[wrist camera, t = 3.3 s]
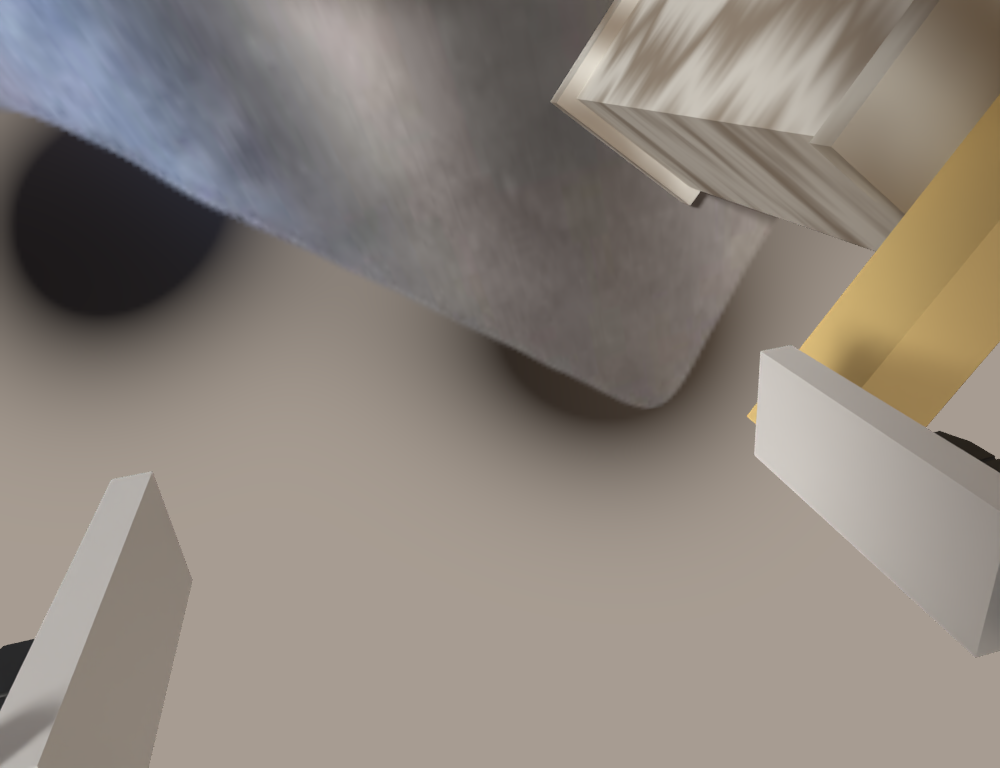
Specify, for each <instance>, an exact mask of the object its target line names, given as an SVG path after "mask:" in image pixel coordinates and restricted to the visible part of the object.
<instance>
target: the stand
mask: <svg viewBox="0 0 1000 768" xmlns="http://www.w3.org/2000/svg"><path fill="white" fill-rule="evenodd" d="M999 94H1000V0H614V2H613V3H612V5H611V6H610V8H609V10H608V11H607V13H606V14H605V16H604V18H603V19H602V21H601V22H600V24H599V25H598V27H597V29H596V30H595V32H594V33H593V35H592V36H591V38H590V40H589V41H588V43H587V44H586V46H585V48H584V49H583V51H582V52H581V54H580V55H579V57H578V59H577V60H576V62H575V63H574V65H573V67H572V68H571V70H570V71H569V73H568V74H567V76H566V78H565V79H564V81H563V82H562V84H561V85H560V87H559V89H558V90H557V92H556V93H555V95H554V97H553V98H552V100H551V101H550V102H551V103H552V104H554V105H555V106H556V107H557V108H559V109H560V110H561V111H563V112H564V113H565V114H567V115H568V116H569V117H571V118H572V119H573V120H574V121H576V122H577V123H578V124H580V125H581V126H582V127H584V128H585V129H586V130H588V131H589V132H590V133H592V134H593V135H594V136H595V137H597V138H598V139H599V140H601V141H602V142H603V143H605V144H606V145H607V146H609V147H610V148H611V149H612V150H614V151H615V152H616V153H618V154H619V155H620V156H622V157H623V158H624V159H626V160H627V161H628V162H629V163H631V164H632V165H633V166H635V167H636V168H637V169H639V170H640V171H641V172H643V173H644V174H645V175H646V176H648V177H649V178H650V179H652V180H653V181H654V182H656V183H657V184H658V185H660V186H661V187H662V188H663V189H665V190H666V191H667V192H669V193H670V194H671V195H673V196H674V197H675V198H677V199H678V200H679V201H680V202H682V203H685V204H687V205H691V204H692V202H693V201H694V200H695V198H696V197H697V195H698V194H699V193H700V191H702V192H705V193H708V194H711V195H714V196H717V197H720V198H723V199H725V200H728V201H731V202H734V203H737V204H740V205H743V206H746V207H749V208H751V209H754V210H757V211H760V212H763V213H766V214H769V215H772V216H774V217H777V218H780V219H783V220H786V221H789V222H792V223H795V224H798V225H800V226H803V227H806V228H809V229H812V230H815V231H818V232H821V233H823V234H826V235H829V236H832V237H835V238H838V239H841V240H844V241H847V242H850V243H852V244H855V245H858V246H861V247H864V248H867V249H870V250H873V251H875V252H876V251H877V250H878V248H879V247H880V246H881V245H882V243H883V242H884V241H885V239H886V238H887V237H888V236H889V234H890V233H891V232H892V231H893V229H894V228H895V227H896V225H897V224H898V223H899V222H900V220H901V219H902V218H903V217H904V215H905V214H906V213H907V211H908V210H909V209H910V208H911V206H912V205H913V204H914V203H915V201H916V200H917V199H918V197H919V196H920V195H921V194H922V192H923V191H924V190H925V189H926V187H927V186H928V185H929V183H930V182H931V181H932V180H933V178H934V177H935V176H936V175H937V173H938V172H939V171H940V169H941V168H942V167H943V166H944V164H945V163H946V162H947V161H948V159H949V158H950V157H951V156H952V154H953V153H954V152H955V150H956V149H957V148H958V147H959V145H960V144H961V143H962V142H963V140H964V139H965V138H966V136H967V135H968V134H969V133H970V131H971V130H972V129H973V128H974V126H975V125H976V124H977V122H978V121H979V120H980V119H981V117H982V116H983V115H984V114H985V112H986V111H987V110H988V108H989V107H990V106H991V105H992V103H993V102H994V101H995V100H996V98H997V97H998V96H999Z"/></svg>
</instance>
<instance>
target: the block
mask: <svg viewBox="0 0 1000 768" xmlns="http://www.w3.org/2000/svg"><path fill="white" fill-rule="evenodd" d="M999 341H1000V94H999V96H998V97H997V98H996V100H995V101H994V102H993V103H992V105H991V106H990V107H989V108H988V110H987V111H986V112H985V114H984V115H983V116H982V117H981V119H980V120H979V121H978V122H977V124H976V125H975V126H974V128H973V129H972V130H971V131H970V133H969V134H968V135H967V136H966V138H965V139H964V140H963V142H962V143H961V144H960V145H959V147H958V148H957V149H956V150H955V152H954V153H953V154H952V156H951V157H950V158H949V159H948V161H947V162H946V163H945V164H944V166H943V167H942V168H941V169H940V171H939V172H938V173H937V175H936V176H935V177H934V178H933V180H932V181H931V182H930V183H929V185H928V186H927V187H926V189H925V190H924V191H923V192H922V194H921V195H920V196H919V197H918V199H917V200H916V201H915V203H914V204H913V205H912V206H911V208H910V209H909V210H908V211H907V213H906V214H905V215H904V217H903V218H902V219H901V220H900V222H899V223H898V224H897V225H896V227H895V228H894V229H893V231H892V232H891V233H890V234H889V236H888V237H887V238H886V239H885V241H884V242H883V243H882V245H881V246H880V247H879V248H878V250H877V251H876V252H875V254H874V255H873V256H872V257H871V258H870V260H869V261H868V262H867V264H866V265H865V266H864V268H863V269H862V270H861V271H860V273H859V274H858V275H857V276H856V278H855V279H854V280H853V281H852V283H851V284H850V285H849V287H848V288H847V289H846V290H845V292H844V293H843V294H842V295H841V297H840V298H839V299H838V300H837V302H836V303H835V304H834V306H833V307H832V308H831V309H830V311H829V312H828V313H827V315H826V316H825V317H824V318H823V320H822V321H821V322H820V323H819V325H818V326H817V327H816V328H815V330H814V331H813V332H812V334H811V335H810V336H809V338H808V339H807V340H806V341H805V342H804V344H803V345H802V346H801V348H800V349H799V350H800V351H802V352H803V353H805V354H807V355H808V356H810V357H812V358H813V359H815V360H816V361H818V362H820V363H821V364H823V365H825V366H826V367H828V368H830V369H831V370H833V371H834V372H836V373H838V374H839V375H841V376H843V377H844V378H846V379H847V380H849V381H851V382H852V383H854V384H856V385H857V386H859V387H861V388H862V389H864V390H865V391H867V392H869V393H870V394H872V395H874V396H875V397H877V398H878V399H880V400H882V401H883V402H885V403H887V404H888V405H890V406H892V407H893V408H895V409H896V410H898V411H900V412H901V413H903V414H905V415H906V416H908V417H909V418H911V419H913V420H914V421H916V422H918V423H919V424H921V425H922V426H924V427H927V425H928V424H929V423H930V422H931V421H932V420H933V418H934V417H935V416H936V415H937V414H938V413H939V411H940V410H941V409H942V408H943V407H944V406H945V405H946V403H947V402H948V401H949V400H950V399H951V398H952V396H953V395H954V394H955V393H956V392H957V390H958V389H959V388H960V387H961V386H962V385H963V384H964V382H965V381H966V380H967V379H968V378H969V377H970V375H971V374H972V373H973V372H974V371H975V370H976V368H977V367H978V366H979V365H980V364H981V363H982V361H983V360H984V359H985V358H986V357H987V356H988V354H989V353H990V352H991V351H992V350H993V349H994V348H995V346H996V345H997V344H998V343H999ZM747 417H748V418H749V419H750V420H752V421H753V422H754V423H755V424H756V417H757V403H756V405H755V406H754V407H753V409H752V410H751V411H750V412H749V414H748V415H747Z"/></svg>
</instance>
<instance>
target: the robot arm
mask: <svg viewBox="0 0 1000 768" xmlns="http://www.w3.org/2000/svg"><path fill="white" fill-rule="evenodd" d="M754 455H755V456H756V457H757V458H758V459H759V460H760V461H761V462H762V463H764V465H766V466H767V467H768V468H769V469H770V470H771V471H772V472H773V473H774V474H775V475H777V476H778V477H779V478H780V479H781V480H782V481H783V482H784V483H785V484H786V485H787V486H788V487H790V488H791V489H792V490H793V491H794V492H795V493H796V494H797V495H798V496H799V497H801V498H802V499H803V500H804V501H805V502H806V503H807V504H808V505H809V506H810V507H811V508H813V509H814V510H815V511H816V512H817V513H818V514H819V515H820V516H821V517H822V518H824V519H825V520H826V521H827V522H828V523H829V524H830V525H831V526H832V527H833V528H834V529H835V530H837V531H838V532H839V533H840V534H841V535H842V536H843V537H844V538H845V539H846V540H848V541H849V542H850V543H851V544H852V545H853V546H854V547H855V548H856V549H857V550H858V551H859V552H861V553H862V554H863V555H864V556H865V557H866V558H867V559H868V560H869V561H870V562H871V563H873V564H874V565H875V566H876V567H877V568H878V569H879V570H880V571H881V572H882V573H883V574H885V575H886V576H887V577H888V578H889V579H890V580H891V581H892V582H893V583H894V584H895V585H897V586H898V587H899V588H900V589H901V590H902V591H903V592H904V593H906V595H907V596H909V597H910V598H911V599H912V600H913V601H914V602H915V603H916V604H917V605H918V606H919V607H921V608H922V609H923V610H924V611H925V612H926V613H927V614H928V615H929V616H931V617H932V618H933V619H934V620H935V621H936V622H937V623H938V624H940V626H941V627H943V628H944V629H945V630H946V631H947V632H948V633H949V634H950V635H951V636H952V637H954V639H956V640H957V641H958V642H959V643H960V644H961V645H962V646H963V647H964V648H965V649H967V650H968V651H969V652H970V653H971V654H972V655H973V656H974V657H975V658H977V657H980V656H983V655H987V654H990V653H994V652H997V651H1000V459H997V460H996V459H995V456H994V455H992V454H990V453H988V452H987V451H985V450H984V449H982V448H980V447H979V446H977V445H975V444H973V443H972V442H970V441H967V440H964V439H961V438H958V437H955V436H952V435H949V434H947V433H944V432H941V431H938V432H932V431H931V430H929V429H927V428H926V427H924V426H922V425H921V424H919V423H918V422H916V421H914V420H913V419H911V418H909V417H908V416H906V415H905V414H903V413H901V412H900V411H898V410H896V409H895V408H893V407H892V406H890V405H888V404H887V403H885V402H883V401H882V400H880V399H878V398H877V397H875V396H874V395H872V394H870V393H869V392H867V391H865V390H864V389H862V388H861V387H859V386H857V385H856V384H854V383H852V382H851V381H849V380H847V379H846V378H844V377H843V376H841V375H839V374H838V373H836V372H834V371H833V370H831V369H830V368H828V367H826V366H825V365H823V364H821V363H820V362H818V361H816V360H815V359H813V358H812V357H810V356H808V355H807V354H805V353H803V352H802V351H800V350H799V349H797V348H795V347H794V346H792V345H789V346H784V347H779V348H774V349H769V350H764V351H761V352H760V369H759V385H758V401H757V417H756V435H755V451H754ZM191 584H192V577H191V575H190V572H189V569H188V567H187V564H186V561H185V558H184V556H183V553H182V550H181V548H180V545H179V542H178V540H177V537H176V534H175V531H174V529H173V526H172V523H171V520H170V518H169V515H168V512H167V510H166V507H165V504H164V501H163V499H162V496H161V493H160V490H159V488H158V485H157V482H156V480H155V477H154V474H153V472H152V471H151V472H147V473H141V474H136V475H131V476H126V477H122V478H116V479H112V480H111V481H110V483H109V485H108V487H107V490H106V492H105V494H104V496H103V498H102V500H101V502H100V504H99V506H98V508H97V510H96V512H95V515H94V517H93V519H92V521H91V523H90V525H89V527H88V529H87V531H86V533H85V536H84V537H83V540H82V542H81V544H80V546H79V548H78V550H77V552H76V554H75V556H74V558H73V561H72V562H71V565H70V567H69V569H68V571H67V573H66V575H65V577H64V579H63V581H62V584H61V585H60V587H59V589H58V592H57V594H56V596H55V598H54V600H53V602H52V604H51V606H50V608H49V610H48V612H47V614H46V617H45V619H44V621H43V623H42V625H41V627H40V629H39V631H38V633H37V635H36V637H35V639H32V640H28V641H23V642H19V643H14V644H10V645H6V646H3V647H2V648H1V649H0V768H149V763H150V760H151V755H152V751H153V747H154V742H155V738H156V734H157V729H158V725H159V721H160V717H161V713H162V708H163V704H164V700H165V695H166V691H167V687H168V683H169V678H170V674H171V670H172V666H173V661H174V656H175V653H176V648H177V644H178V640H179V636H180V632H181V627H182V623H183V619H184V615H185V610H186V606H187V602H188V597H189V593H190V588H191Z"/></svg>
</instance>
